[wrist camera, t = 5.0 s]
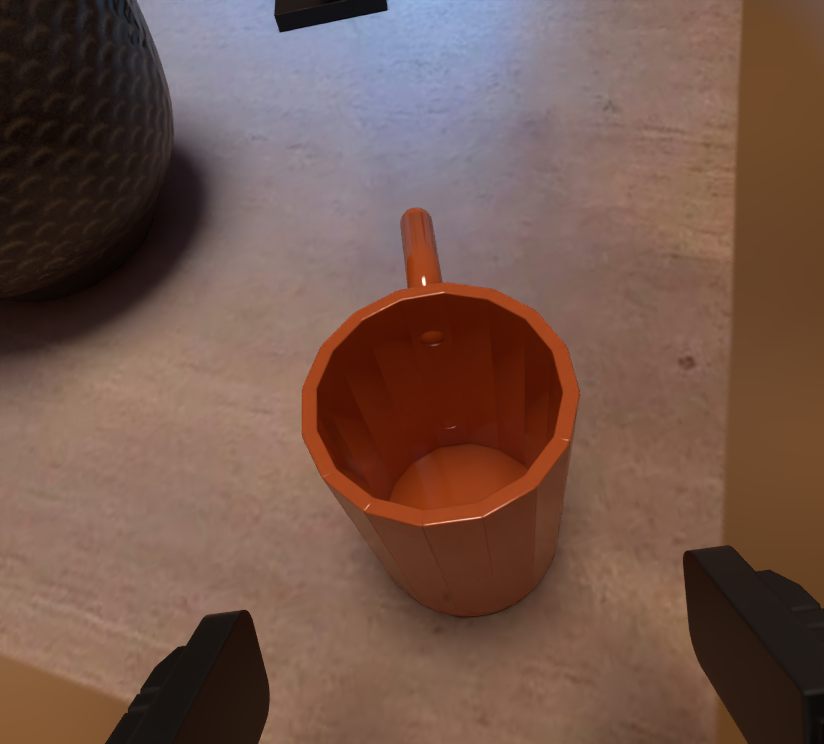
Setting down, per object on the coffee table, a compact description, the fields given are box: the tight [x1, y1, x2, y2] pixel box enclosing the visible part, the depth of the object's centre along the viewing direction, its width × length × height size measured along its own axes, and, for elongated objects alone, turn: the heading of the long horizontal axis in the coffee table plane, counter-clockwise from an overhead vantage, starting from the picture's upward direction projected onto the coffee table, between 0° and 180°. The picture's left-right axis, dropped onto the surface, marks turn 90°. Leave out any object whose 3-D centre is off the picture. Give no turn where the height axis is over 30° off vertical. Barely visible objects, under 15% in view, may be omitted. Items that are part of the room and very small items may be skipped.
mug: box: [302, 208, 580, 617], centre depth 21 cm, size 12×7×10 cm, turn 5°
